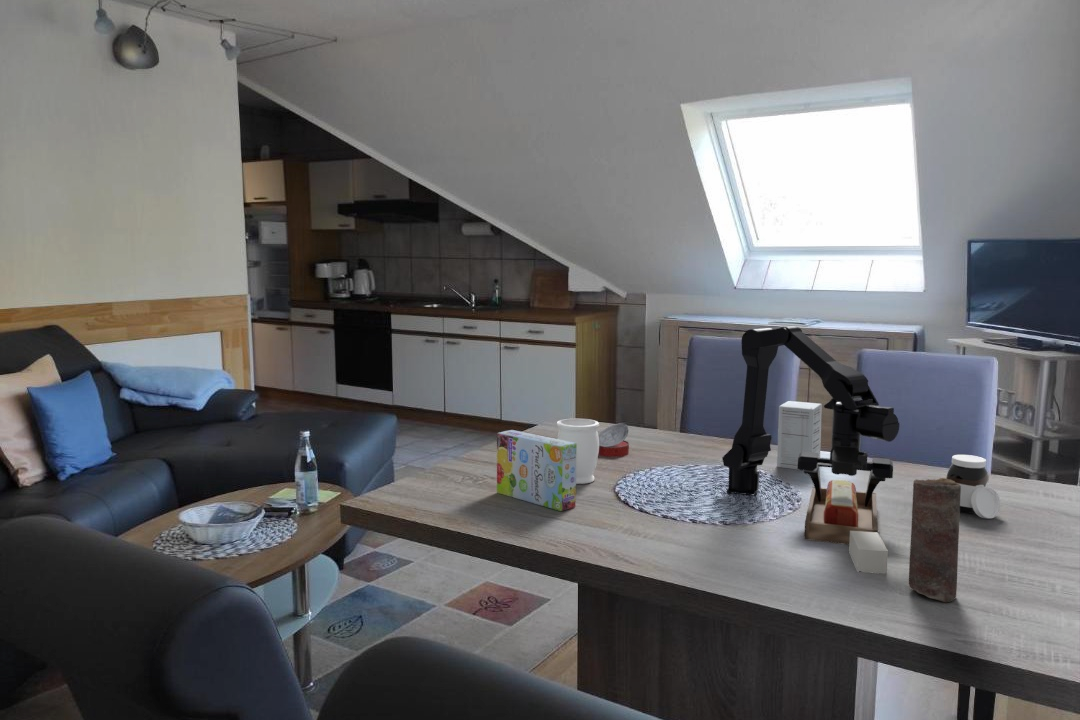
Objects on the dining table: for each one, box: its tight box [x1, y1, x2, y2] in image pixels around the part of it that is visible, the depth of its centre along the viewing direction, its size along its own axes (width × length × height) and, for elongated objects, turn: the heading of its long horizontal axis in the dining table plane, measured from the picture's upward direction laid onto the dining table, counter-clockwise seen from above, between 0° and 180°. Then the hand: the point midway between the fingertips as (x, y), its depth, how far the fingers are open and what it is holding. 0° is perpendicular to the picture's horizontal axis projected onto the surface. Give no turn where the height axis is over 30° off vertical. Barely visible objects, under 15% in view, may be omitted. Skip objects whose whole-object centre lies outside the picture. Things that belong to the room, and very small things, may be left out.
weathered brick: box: [908, 477, 961, 603], centre depth 137 cm, size 8×7×20 cm
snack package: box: [824, 479, 858, 527], centre depth 174 cm, size 21×7×7 cm, turn 159°
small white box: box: [848, 531, 889, 575], centre depth 152 cm, size 5×10×4 cm, turn 168°
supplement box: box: [776, 400, 823, 471], centre depth 219 cm, size 10×9×17 cm
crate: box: [803, 486, 879, 545], centre depth 174 cm, size 14×27×4 cm, turn 159°
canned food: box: [598, 422, 630, 458], centre depth 233 cm, size 11×10×10 cm
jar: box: [556, 417, 600, 485], centre depth 205 cm, size 11×10×15 cm
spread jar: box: [945, 454, 1002, 519], centre depth 181 cm, size 12×11×12 cm
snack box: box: [496, 429, 577, 512], centre depth 189 cm, size 21×6×15 cm, turn 47°
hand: (842, 503), depth 173 cm, fingers open, 9 cm apart
